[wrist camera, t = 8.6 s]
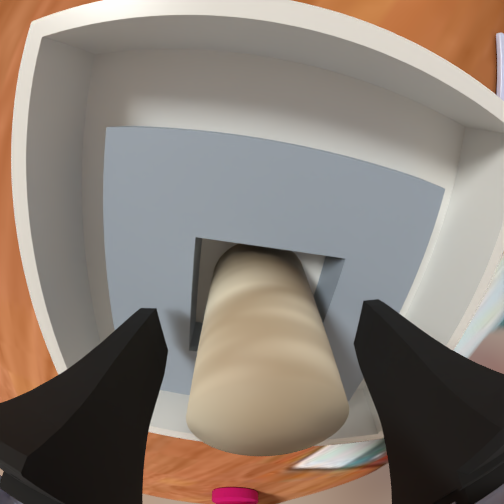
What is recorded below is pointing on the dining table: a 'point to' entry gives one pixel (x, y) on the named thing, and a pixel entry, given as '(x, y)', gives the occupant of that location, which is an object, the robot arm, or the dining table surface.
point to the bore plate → (255, 228)
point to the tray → (248, 124)
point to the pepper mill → (234, 496)
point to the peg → (264, 359)
